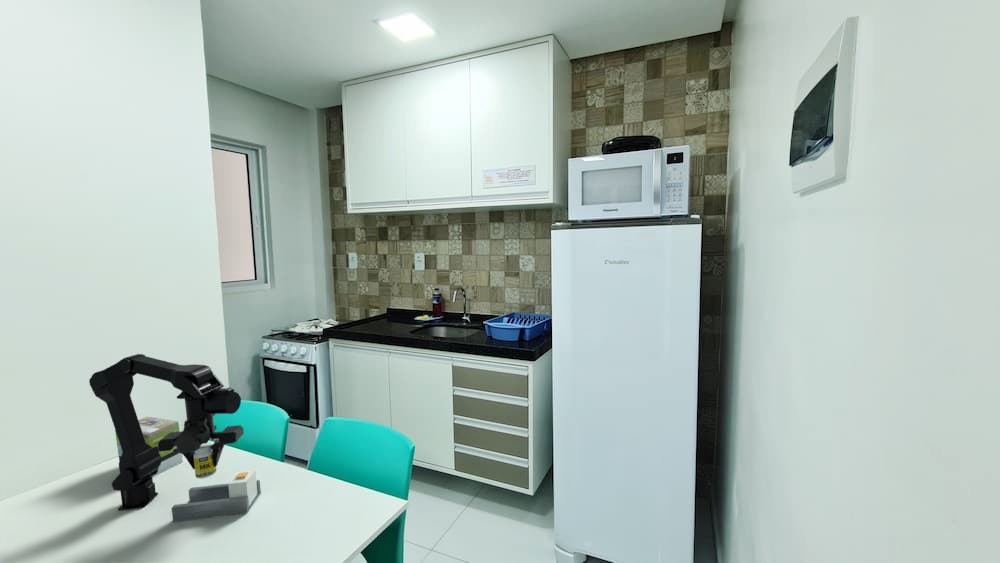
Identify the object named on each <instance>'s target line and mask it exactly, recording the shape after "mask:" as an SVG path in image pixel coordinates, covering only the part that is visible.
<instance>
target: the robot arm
mask: <svg viewBox="0 0 1000 563" xmlns="http://www.w3.org/2000/svg"><path fill="white" fill-rule="evenodd" d="M137 374H138V375H142V376H145V377H150V378H153V379H157V380H161V381H164V382H168V383H170V384H171V385H172V387H173V388H175V389H176V390H178V391H179V390H180V391H181V393H179V394H178V395H177V396H176V399H179V400H184V403H185V404H184V405H185V413H186V420H184V422H183V430H182V431H179V432H172V433H169V434H168V435H166V436H165V437H164V438H162V439H161V440H160V441H159V443H158V447H157V446H154V447H152V446H150V445H148V444H147V443H146V442H145V439H144V436H143V433H142V430H141V427H140V424H139V421H138V420H139V419H138V416H137V411H136V409H135V406H134V403H133V400H132V396H131V395H132V394H131V393H132V391H133V388H134V386H135V381H134V376H136V375H137ZM221 381H222V380H220V379H219V378H218V377H217V375H216V374H215V373H214V371H213V370H212V368H211V367H210V366H209V365H205V364H179V363H173V362H169V361H166V360H162V359H157V358H153V357H150V356H147V355H145V354H143V353H137V354H134V355H133V354H132V355H130V356H126V357H123V358H122V359H120V360H119V361H117V362H115V364H112V365H111V366H108V367H106V368H104V369H102V370H99V371H96V372H94V373H93V374H92V375H91V377H90V378H89V386H90V388H91V390H92V392H93V394H94V396H95V397H96V398H98V399H99V400H101V401H103V402H104V403H105V405H106V406H107V409H108V412H109V415H110V417H111V420H112V424H113V426H114V430H116V432H115V434H116V433H117V436H118V439H119V442H120V445H121V448H122V456H121V459H120V462H119V461H118V467H119V468H118V469H119V474H118V475H117V476H116V477H115V479H114V480H113V481H112V482H111V484H110V485H111V486H112V489H113V491H119V492H120V497H121V505H120V506H119V507H118V508H117V511H126V510H127V511H128V510H135V509H143V508H145V507H146V506H147V505H148V504H149V503H150V502H151V501H153V500H154V499H155V498H156V497H157V496H158V495H159V492H157V491H156V483H155V482H154V481H153V479H154V478H153V477H152V476H153V475H156V474H157V472H158V468H159V466H160V465H161V459H162V457H161V456H160V454H159V452H160V451H169V450H171V449H172V448H173V447H175V449H174V450H173V452H178V453H181V454H182V456H184V458H185V459H186V461H187V462H188V463H189V465H190V466H191V468H192V469H193V470H195V466H194V454H195V451H196V450H198V449H199V448H200V445H202V444H205V443H207V442H210V441H213V443H212V446H211V447H210V448H211V449H212V450H213V464H214V467H216V468H217V466H218V465H219V464H218V463H219V462H220V458H221V455H222V453H223V450H224V447H225V445H228V444H229V445H230V444H234V443H235V444H236V443H237V441H239V439H240V438H241V437H242V436H243V435H244V433H245V431H244V427H243V426H242V425H239V424H237V425H229V426H226V427H225V428H224V429H223V430H222V431H221V430H220V431H216V430H217V425H215V421H214V416H216V415H218V414H219V415H220V414H221V415H233V414H235V413H237V411H238V410H239V409H240V407H241V402H242V397H241V396H240V394H239V393H238V392H237V391H235V387H226V388H224V387H225V386H224V384H223V383H222V382H221ZM203 387H204V388H203ZM201 388H202V389H201ZM156 476H157V475H156Z"/></svg>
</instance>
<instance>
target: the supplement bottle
mask: <svg viewBox="0 0 1000 563" xmlns="http://www.w3.org/2000/svg"><path fill="white" fill-rule="evenodd" d="M212 445H213V442H211V441H208V442H207V443H205V444H202V445H200V448H199V449H198V450H196V451H195V454H194V466H195V469H194V474H195V478H196V479H201V480H202V479H207V478H209V477H212V476H213V475H214V474H216V473H217V466H216V467H214V464H213V450H212V449H211V448H210V447H211V446H212Z"/></svg>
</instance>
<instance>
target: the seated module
mask: <svg viewBox="0 0 1000 563" xmlns="http://www.w3.org/2000/svg"><path fill="white" fill-rule="evenodd" d="M256 480H257V471H256V469H250V470H249V469H248V470H242V471H240V470H239V471H238V472H237V473H236V474H235V475H234V476H233V477H232V479H231V480H230V481H229V482H228V483H227V484H228V487H229V497H230V498H236V497H245V496H248V499H249V505H250V503H251V502H252V500H253V499H254V497H255V496H256V494H257V493H258V492H257V481H256Z"/></svg>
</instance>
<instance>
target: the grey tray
mask: <svg viewBox="0 0 1000 563" xmlns="http://www.w3.org/2000/svg"><path fill="white" fill-rule="evenodd" d="M256 481H257V492H258V493H257V494H256V496H255V497H254V499H253V500H252V502H251V503H250V505H249V499H248V496H245V497H236V498H230V497H229V487H228V483H223V484H222V483H221V484H214V485H204V486H203V485H202V486H195V487H194V486H193V487H190V488H189V489H188V498H189V500H188V501H187V502H185V503H179V504H173V506H171V515H172V523H176V522H185V521H186V520H187V521H192V520H202V519H209V518H218V517H223V516H224V517H225V516H226V517H227V516H232V515H240V514H248V513H249V512H250V509H251V508H252V507H253V505H255V502H256V501H257V499H258V498H259V497H260V495H261V493H262V489H261V481H260V479H256Z"/></svg>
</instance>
